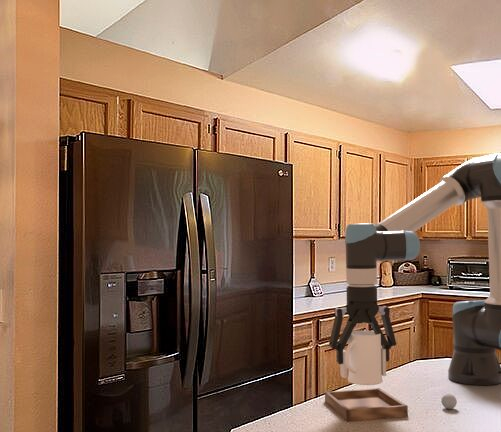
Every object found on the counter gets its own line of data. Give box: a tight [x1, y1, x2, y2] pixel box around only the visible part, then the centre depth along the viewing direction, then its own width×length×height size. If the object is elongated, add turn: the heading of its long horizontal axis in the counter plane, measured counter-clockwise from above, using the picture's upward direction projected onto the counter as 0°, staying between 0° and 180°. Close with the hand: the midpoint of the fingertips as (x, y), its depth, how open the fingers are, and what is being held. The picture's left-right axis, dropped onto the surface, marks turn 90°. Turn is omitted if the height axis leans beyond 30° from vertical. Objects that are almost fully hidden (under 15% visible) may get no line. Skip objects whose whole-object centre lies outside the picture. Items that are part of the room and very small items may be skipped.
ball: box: [441, 393, 458, 410], centre depth 149 cm, size 4×4×4 cm
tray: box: [324, 387, 409, 422], centre depth 151 cm, size 15×17×2 cm
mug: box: [345, 330, 383, 386], centre depth 151 cm, size 12×8×12 cm
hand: (363, 375), depth 151 cm, fingers closed on mug, 9 cm apart
